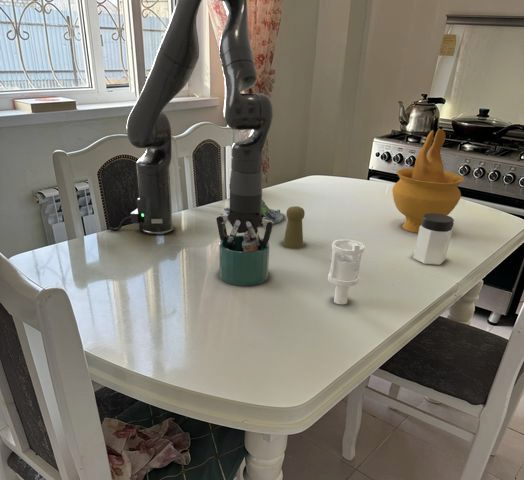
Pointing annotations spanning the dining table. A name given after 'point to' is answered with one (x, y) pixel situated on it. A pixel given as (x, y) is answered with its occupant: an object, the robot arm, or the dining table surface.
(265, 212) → the tree stump
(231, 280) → the ceramic cup
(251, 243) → the lighter
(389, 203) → the dining table surface
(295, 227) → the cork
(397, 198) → the decorative bowl
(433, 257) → the jar
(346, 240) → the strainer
